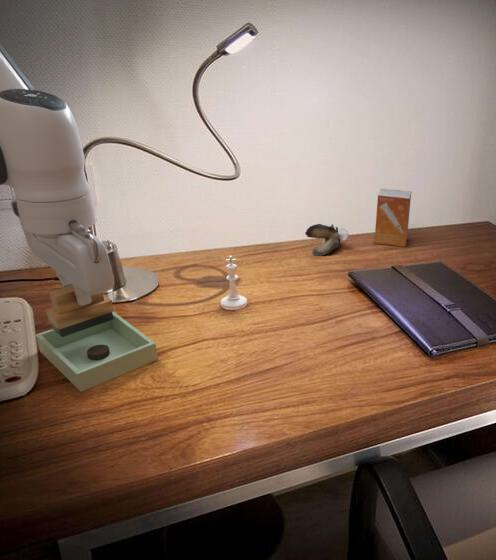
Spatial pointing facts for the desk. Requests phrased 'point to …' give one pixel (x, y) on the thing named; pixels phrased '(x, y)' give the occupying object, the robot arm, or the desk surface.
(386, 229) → the small box
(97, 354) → the dark brown disc
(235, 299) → the chess piece
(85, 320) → the brush
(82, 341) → the tray
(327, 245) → the grey brown curved piece
